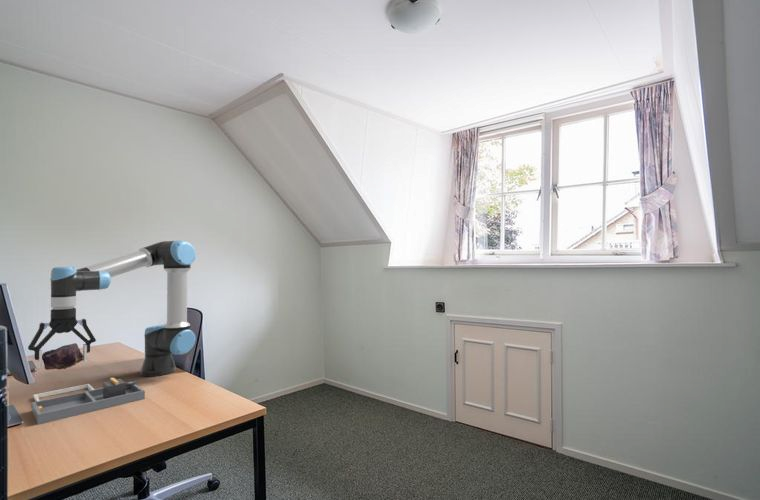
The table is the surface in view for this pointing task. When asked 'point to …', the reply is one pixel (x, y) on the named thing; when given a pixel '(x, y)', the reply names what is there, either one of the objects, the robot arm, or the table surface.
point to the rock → (62, 357)
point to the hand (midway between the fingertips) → (63, 364)
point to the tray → (61, 391)
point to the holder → (87, 401)
